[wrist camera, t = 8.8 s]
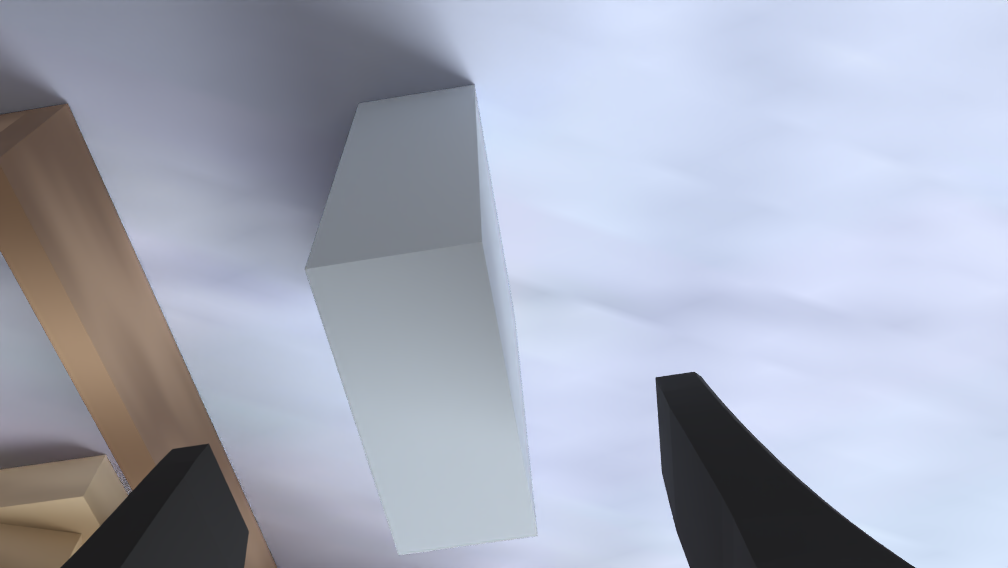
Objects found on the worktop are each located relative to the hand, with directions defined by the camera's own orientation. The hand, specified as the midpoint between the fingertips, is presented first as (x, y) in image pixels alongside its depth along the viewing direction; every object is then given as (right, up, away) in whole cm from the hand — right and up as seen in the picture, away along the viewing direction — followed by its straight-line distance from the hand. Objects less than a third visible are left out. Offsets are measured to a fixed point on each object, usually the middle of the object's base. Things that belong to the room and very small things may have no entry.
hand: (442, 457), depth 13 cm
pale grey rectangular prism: (0, +4, +6) cm, 7 cm away
